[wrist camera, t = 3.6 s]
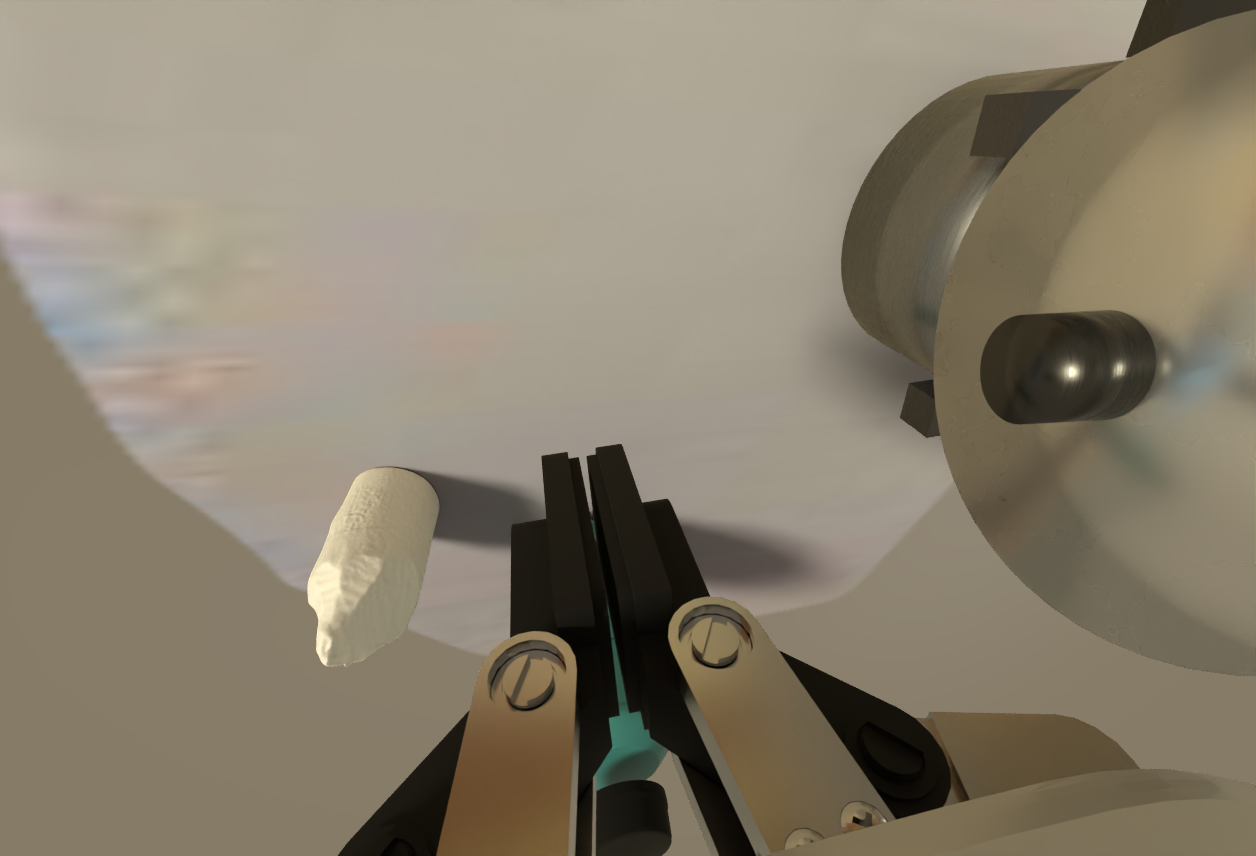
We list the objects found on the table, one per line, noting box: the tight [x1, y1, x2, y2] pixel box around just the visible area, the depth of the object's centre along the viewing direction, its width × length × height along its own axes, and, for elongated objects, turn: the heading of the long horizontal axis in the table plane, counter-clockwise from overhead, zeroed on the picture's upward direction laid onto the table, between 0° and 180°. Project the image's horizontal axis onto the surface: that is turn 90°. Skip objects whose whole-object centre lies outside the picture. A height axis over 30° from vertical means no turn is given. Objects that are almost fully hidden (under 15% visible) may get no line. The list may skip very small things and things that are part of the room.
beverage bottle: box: [591, 520, 672, 856], centre depth 30 cm, size 6×7×20 cm
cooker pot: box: [841, 0, 1256, 438], centre depth 27 cm, size 20×17×11 cm
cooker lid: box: [934, 9, 1256, 676], centre depth 15 cm, size 16×16×4 cm
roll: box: [308, 467, 440, 667], centre depth 29 cm, size 6×12×6 cm
